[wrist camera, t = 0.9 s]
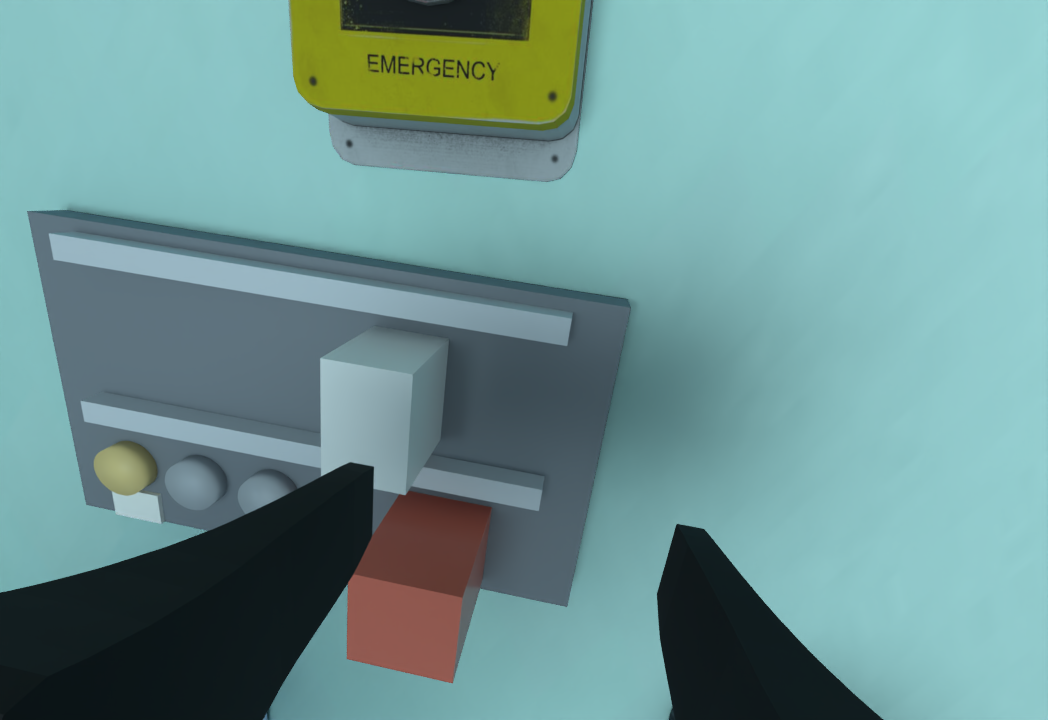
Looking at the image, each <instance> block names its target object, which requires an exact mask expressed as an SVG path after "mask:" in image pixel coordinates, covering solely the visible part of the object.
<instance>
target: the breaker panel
mask: <svg viewBox="0 0 1048 720" xmlns="http://www.w3.org/2000/svg"><path fill="white" fill-rule="evenodd" d="M27 212H28V217H29V222H30V227H31V232H32V237H33V242H34V247H35V252H36V257H37V262H38V267H39V272H40V277H41V282H42V287H43V292H44V297H45V302H46V307H47V312H48V317H49V322H50V326H51V331H52V336H53V341H54V346H55V351H56V356H57V361H58V366H59V371H60V376H61V381H62V386H63V391H64V396H65V401H66V406H67V411H68V416H69V421H70V426H71V431H72V436H73V441H74V446H75V451H76V456H77V461H78V466H79V471H80V475H81V480H82V485H83V490H84V495H85V500H86V505H90V506H95V507H99V508H104V509H109V510H114V511H115V512H116V514H117V515H121V516H126V517H131V518H136V519H140V520H145V521H150V522H154V523H159V524H162V523H163V522H170V523H175V524H179V525H184V526H189V527H194V528H198V529H203V530H208V531H209V530H212V529H214V528H217V527H219V526H221V525H224V524H226V523H228V522H230V521H233V520H235V519H237V518H239V517H241V516H243V515H245V514H247V513H250V512H252V511H254V510H256V509H258V508H260V507H262V506H265V505H267V504H269V503H271V502H273V501H275V500H277V499H279V498H281V497H283V496H285V495H287V494H289V493H291V492H292V491H294V490H296V489H298V488H300V487H302V486H304V485H306V484H308V483H310V482H312V481H314V480H315V479H317V478H319V477H321V398H320V358H321V357H323V356H325V355H326V354H328V353H330V352H331V351H333V350H335V349H336V348H338V347H340V346H341V345H343V344H345V343H347V342H348V341H350V340H352V339H353V338H355V337H357V336H358V335H360V334H362V333H363V332H365V331H367V330H368V329H370V328H372V327H374V326H377V327H383V328H389V329H395V330H401V331H407V332H413V333H418V334H424V335H430V336H436V337H442V338H448V339H449V346H448V357H447V369H446V381H445V392H444V404H443V416H442V427H441V439H440V441H439V443H438V444H437V446H436V447H435V449H434V451H433V452H432V454H431V455H430V457H429V459H428V460H427V462H426V463H425V465H424V467H423V468H422V470H421V471H420V473H419V474H418V476H417V478H416V479H415V481H414V482H413V484H412V486H411V487H410V489H409V490H408V491H412V492H417V493H422V494H427V495H432V496H438V497H443V498H448V499H453V500H458V501H463V502H468V503H473V504H478V505H483V506H488V507H492V510H491V518H490V525H489V533H488V540H487V548H486V556H485V563H484V571H483V578H482V583H481V586H480V588H481V589H485V590H490V591H495V592H499V593H504V594H509V595H513V596H518V597H523V598H528V599H532V600H537V601H542V602H546V603H551V604H556V605H560V606H565V607H567V605H568V600H569V595H570V591H571V586H572V581H573V577H574V572H575V567H576V562H577V558H578V553H579V548H580V544H581V539H582V534H583V530H584V525H585V520H586V515H587V511H588V506H589V501H590V497H591V492H592V487H593V483H594V478H595V473H596V468H597V464H598V459H599V454H600V450H601V445H602V440H603V435H604V431H605V426H606V421H607V417H608V412H609V407H610V403H611V398H612V393H613V388H614V384H615V379H616V374H617V370H618V365H619V360H620V355H621V351H622V346H623V341H624V337H625V332H626V327H627V323H628V318H629V313H630V308H631V307H630V304H629V302H628V299H622V298H616V297H609V296H603V295H597V294H590V293H584V292H578V291H572V290H565V289H559V288H553V287H546V286H540V285H534V284H527V283H521V282H515V281H509V280H502V279H496V278H490V277H483V276H477V275H471V274H464V273H458V272H452V271H445V270H439V269H433V268H427V267H420V266H414V265H408V264H401V263H395V262H389V261H382V260H376V259H370V258H364V257H357V256H351V255H345V254H338V253H332V252H326V251H319V250H313V249H307V248H301V247H294V246H288V245H282V244H275V243H269V242H263V241H256V240H250V239H244V238H237V237H231V236H225V235H219V234H212V233H206V232H200V231H193V230H187V229H181V228H174V227H168V226H162V225H156V224H149V223H143V222H137V221H130V220H124V219H118V218H111V217H105V216H99V215H93V214H86V213H80V212H74V211H67V210H56V211H27ZM398 495H399V494H397V493H392V492H387V491H382V490H377V489H373V527H372V536H373V534H374V532H375V531H376V529H377V528H378V526H379V525H380V523H381V522H382V520H383V519H384V517H385V515H386V514H387V512H388V511H389V509H390V508H391V506H392V505H393V503H394V502H395V500H396V499H397V497H398Z"/></svg>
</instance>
